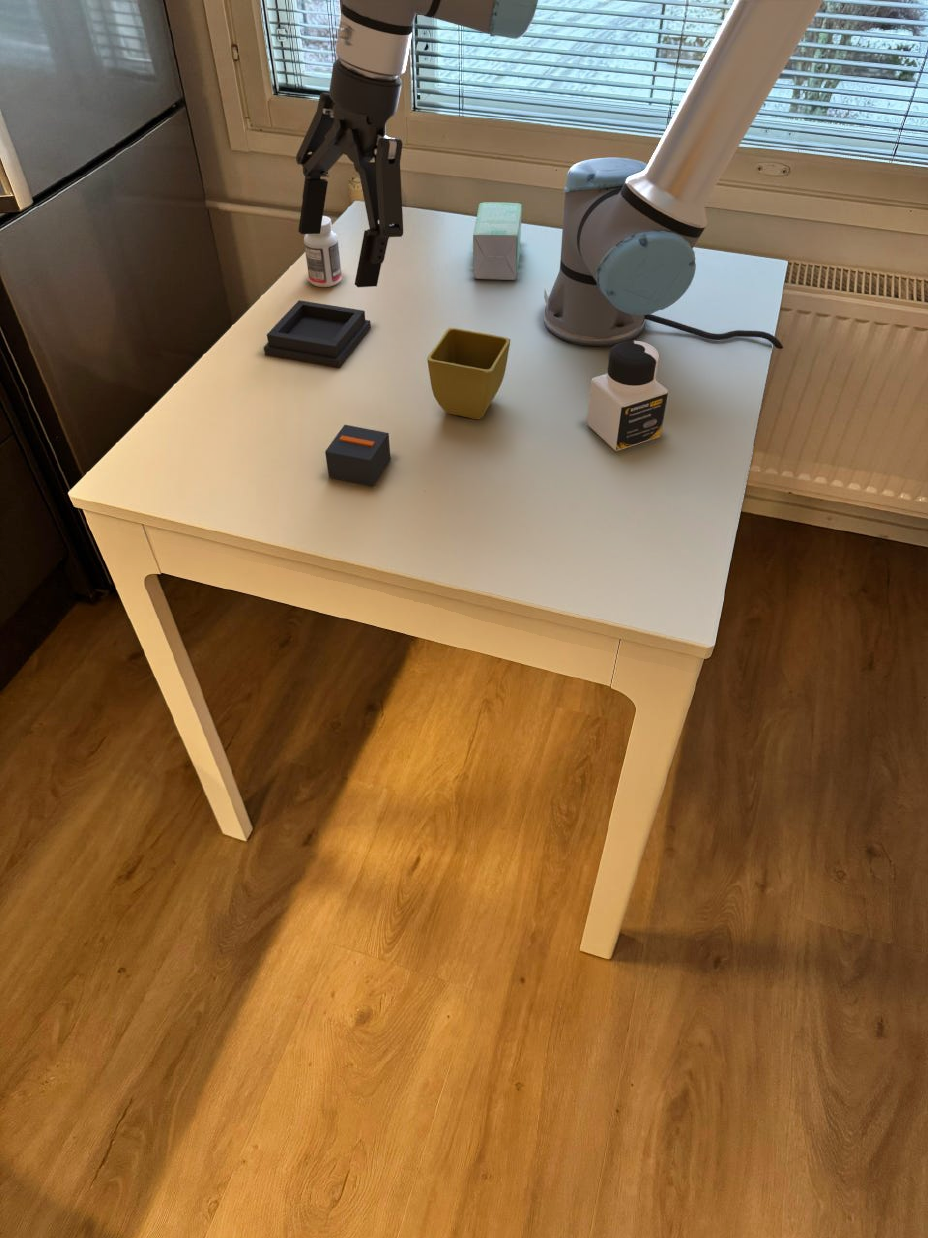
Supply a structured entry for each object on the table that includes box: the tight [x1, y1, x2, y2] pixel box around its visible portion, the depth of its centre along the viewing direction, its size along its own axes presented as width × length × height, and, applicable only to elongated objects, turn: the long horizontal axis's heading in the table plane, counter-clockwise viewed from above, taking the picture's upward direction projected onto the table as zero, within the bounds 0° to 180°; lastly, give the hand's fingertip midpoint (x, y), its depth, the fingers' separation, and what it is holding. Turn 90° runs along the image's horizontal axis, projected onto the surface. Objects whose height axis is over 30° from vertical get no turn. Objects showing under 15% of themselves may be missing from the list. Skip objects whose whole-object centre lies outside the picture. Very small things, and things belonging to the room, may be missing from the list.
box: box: [472, 201, 523, 281], centre depth 151 cm, size 7×14×8 cm, turn 175°
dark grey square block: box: [324, 424, 391, 488], centre depth 114 cm, size 6×6×4 cm
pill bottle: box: [303, 215, 343, 288], centre depth 146 cm, size 5×5×10 cm
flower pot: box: [426, 327, 511, 420], centre depth 121 cm, size 9×9×9 cm
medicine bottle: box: [586, 340, 669, 452], centre depth 116 cm, size 7×7×12 cm
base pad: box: [263, 299, 372, 368], centre depth 136 cm, size 12×12×3 cm
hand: (336, 258), depth 112 cm, fingers open, 13 cm apart
